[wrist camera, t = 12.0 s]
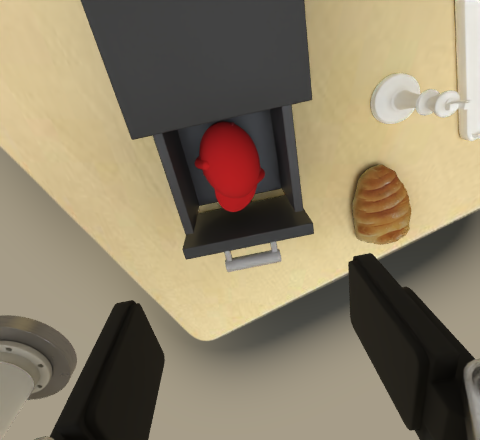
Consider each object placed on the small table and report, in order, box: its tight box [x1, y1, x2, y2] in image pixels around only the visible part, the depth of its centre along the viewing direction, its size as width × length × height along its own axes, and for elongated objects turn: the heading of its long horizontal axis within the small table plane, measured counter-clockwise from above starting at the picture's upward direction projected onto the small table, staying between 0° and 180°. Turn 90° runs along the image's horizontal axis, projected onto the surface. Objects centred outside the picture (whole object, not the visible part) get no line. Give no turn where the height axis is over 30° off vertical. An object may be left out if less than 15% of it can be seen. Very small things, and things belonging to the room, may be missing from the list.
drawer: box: [153, 105, 314, 272], centre depth 28 cm, size 18×12×8 cm
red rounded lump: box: [195, 122, 265, 212], centre depth 27 cm, size 8×6×6 cm
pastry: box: [352, 165, 411, 245], centre depth 33 cm, size 9×7×4 cm
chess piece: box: [371, 73, 473, 124], centre depth 25 cm, size 5×5×10 cm
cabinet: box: [81, 0, 312, 140], centre depth 22 cm, size 15×14×10 cm
